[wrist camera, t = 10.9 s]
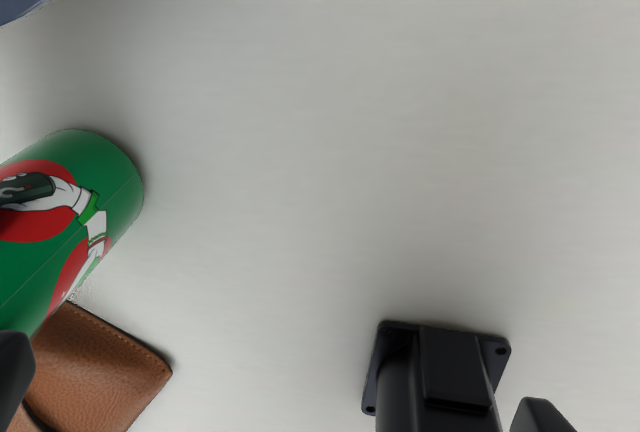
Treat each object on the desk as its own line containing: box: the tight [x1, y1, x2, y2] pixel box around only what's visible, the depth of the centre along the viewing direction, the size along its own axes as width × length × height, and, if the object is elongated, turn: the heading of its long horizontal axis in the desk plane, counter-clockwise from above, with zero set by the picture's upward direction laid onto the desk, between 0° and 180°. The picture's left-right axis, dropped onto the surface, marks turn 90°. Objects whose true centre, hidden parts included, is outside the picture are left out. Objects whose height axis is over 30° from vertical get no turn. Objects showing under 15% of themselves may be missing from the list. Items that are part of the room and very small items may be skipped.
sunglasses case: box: [6, 301, 173, 432], centre depth 30 cm, size 18×7×7 cm
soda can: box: [0, 129, 144, 343], centre depth 17 cm, size 5×5×12 cm
